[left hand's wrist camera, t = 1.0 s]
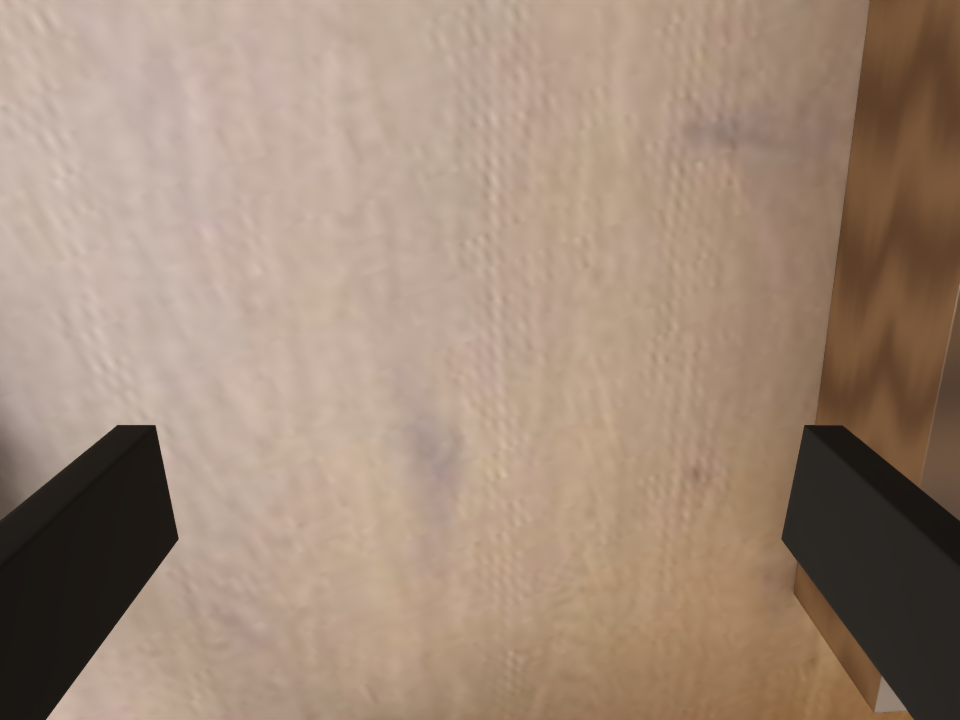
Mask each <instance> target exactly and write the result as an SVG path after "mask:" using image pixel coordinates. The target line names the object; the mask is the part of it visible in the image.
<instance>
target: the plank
mask: <svg viewBox="0 0 960 720" xmlns="http://www.w3.org/2000/svg"><path fill="white" fill-rule="evenodd" d="M816 425H843V426H844V427H845V428H847V429H848V430H849V431H850V432H851V433H853V434H854V435H855V436H856V437H858V438H859V439H860V440H861V441H862V442H864V443H865V444H866V445H867V446H869V447H870V448H871V449H872V450H873V451H875V452H876V453H877V454H878V455H880V456H881V457H882V458H883V459H884V460H886V461H887V462H888V463H889V464H891V465H892V466H893V467H894V468H896V469H897V470H898V471H899V472H900V473H902V474H903V475H904V476H905V477H907V478H908V479H909V480H910V481H911V482H913V483H914V484H915V485H916V486H918V487H919V488H920V489H921V490H922V491H924V492H925V493H926V494H927V495H929V496H930V497H931V498H932V499H933V500H935V501H936V502H937V503H938V504H940V505H941V506H942V507H943V508H945V509H946V510H947V511H948V512H949V513H951V514H952V515H953V516H954V517H956V518H957V519H958V520H959V521H960V0H870V6H869V13H868V21H867V29H866V37H865V44H864V52H863V60H862V68H861V75H860V83H859V91H858V99H857V107H856V114H855V122H854V130H853V138H852V145H851V153H850V161H849V169H848V176H847V184H846V192H845V200H844V207H843V215H842V223H841V231H840V238H839V246H838V254H837V262H836V270H835V277H834V285H833V293H832V301H831V308H830V316H829V324H828V332H827V339H826V347H825V355H824V363H823V370H822V378H821V386H820V394H819V401H818V409H817V417H816ZM794 595H795V596H796V598H797V599H798V601H799V602H800V604H801V605H802V607H803V608H804V610H805V611H806V613H807V614H808V616H809V617H810V619H811V620H812V622H813V623H814V625H815V626H816V627H817V629H818V630H819V632H820V633H821V635H822V636H823V638H824V639H825V641H826V642H827V644H828V645H829V647H830V648H831V650H832V651H833V653H834V654H835V656H836V657H837V659H838V660H839V662H840V663H841V665H842V666H843V668H844V669H845V671H846V672H847V674H848V675H849V677H850V678H851V680H852V681H853V683H854V684H855V686H856V687H857V689H858V690H859V692H860V693H861V695H862V696H863V698H864V699H865V701H866V702H867V704H868V705H869V707H870V708H871V710H872V711H873V712H874V713H879V712H898V711H907V709H906V708H905V707H904V705H903V704H902V703H901V701H900V700H899V698H898V697H897V696H896V694H895V693H894V692H893V690H892V689H891V688H890V686H889V685H888V683H887V682H886V681H885V679H884V678H883V677H882V675H881V674H880V673H879V671H878V670H877V669H876V667H875V666H874V664H873V663H872V662H871V660H870V659H869V658H868V656H867V655H866V654H865V652H864V651H863V649H862V648H861V647H860V645H859V644H858V643H857V641H856V640H855V639H854V637H853V636H852V635H851V633H850V632H849V630H848V629H847V628H846V626H845V625H844V624H843V622H842V621H841V620H840V618H839V617H838V615H837V614H836V613H835V611H834V610H833V609H832V607H831V606H830V605H829V603H828V602H827V601H826V599H825V598H824V596H823V595H822V594H821V592H820V591H819V590H818V588H817V587H816V586H815V584H814V583H813V581H812V580H811V579H810V577H809V576H808V575H807V573H806V572H805V571H804V569H803V568H802V567H801V565H800V564H799V562H798V564H797V572H796V580H795V588H794Z"/></svg>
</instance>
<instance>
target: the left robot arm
mask: <svg viewBox="0 0 960 720" xmlns="http://www.w3.org/2000/svg"><path fill="white" fill-rule="evenodd" d="M177 541H178V534H177V529H176V524H175V519H174V514H173V509H172V504H171V499H170V494H169V490H168V485H167V480H166V475H165V470H164V465H163V460H162V455H161V450H160V445H159V440H158V435H157V431H156V426H155V425H117V426H116V427H115V428H113V429H112V430H111V431H110V432H109V433H107V434H106V435H105V436H104V437H102V438H101V439H100V440H99V441H98V442H96V443H95V444H94V445H93V446H91V447H90V448H89V449H88V450H87V451H85V452H84V453H83V454H82V455H80V456H79V457H78V458H77V459H76V460H74V461H73V462H72V463H71V464H69V465H68V466H67V467H66V468H64V469H63V470H62V471H61V472H60V473H58V474H57V475H56V476H55V477H53V478H52V479H51V480H50V481H49V482H47V483H46V484H45V485H44V486H42V487H41V488H40V489H39V490H38V491H36V492H35V493H34V494H33V495H31V496H30V497H29V498H28V499H27V500H25V501H24V502H23V503H22V504H20V505H19V506H18V507H17V508H15V509H14V510H13V511H12V512H11V513H9V514H8V515H7V516H6V517H4V518H3V519H2V520H1V521H0V720H46V719H47V718H48V716H49V715H50V713H51V712H52V711H53V709H54V708H55V707H56V705H57V704H58V703H59V701H60V700H61V698H62V697H63V696H64V694H65V693H66V692H67V690H68V689H69V688H70V686H71V685H72V683H73V682H74V681H75V679H76V678H77V677H78V675H79V674H80V673H81V671H82V670H83V669H84V667H85V666H86V664H87V663H88V662H89V660H90V659H91V658H92V656H93V655H94V654H95V652H96V651H97V649H98V648H99V647H100V645H101V644H102V643H103V641H104V640H105V639H106V637H107V636H108V635H109V633H110V632H111V630H112V629H113V628H114V626H115V625H116V624H117V622H118V621H119V620H120V618H121V617H122V615H123V614H124V613H125V611H126V610H127V609H128V607H129V606H130V605H131V603H132V602H133V601H134V599H135V598H136V596H137V595H138V594H139V592H140V591H141V590H142V588H143V587H144V586H145V584H146V583H147V581H148V580H149V579H150V577H151V576H152V575H153V573H154V572H155V571H156V569H157V568H158V567H159V565H160V564H161V562H162V561H163V560H164V558H165V557H166V556H167V554H168V553H169V552H170V550H171V549H172V547H173V546H174V545H175V543H176V542H177ZM782 541H783V542H784V543H785V545H786V546H787V547H788V549H789V550H790V552H791V553H792V554H793V556H794V557H795V558H796V560H797V561H798V562H799V564H800V565H801V567H802V568H803V569H804V571H805V572H806V573H807V575H808V576H809V577H810V579H811V580H812V581H813V583H814V584H815V586H816V587H817V588H818V590H819V591H820V592H821V594H822V595H823V596H824V598H825V599H826V601H827V602H828V603H829V605H830V606H831V607H832V609H833V610H834V611H835V613H836V614H837V615H838V617H839V618H840V620H841V621H842V622H843V624H844V625H845V626H846V628H847V629H848V630H849V632H850V633H851V635H852V636H853V637H854V639H855V640H856V641H857V643H858V644H859V645H860V647H861V648H862V649H863V651H864V652H865V654H866V655H867V656H868V658H869V659H870V660H871V662H872V663H873V664H874V666H875V667H876V669H877V670H878V671H879V673H880V674H881V675H882V677H883V678H884V679H885V681H886V682H887V683H888V685H889V686H890V688H891V689H892V690H893V692H894V693H895V694H896V696H897V697H898V698H899V700H900V701H901V703H902V704H903V705H904V707H905V708H906V709H907V711H908V712H909V713H910V715H911V716H912V718H913V719H914V720H960V521H959V520H958V519H957V518H956V517H954V516H953V515H952V514H951V513H949V512H948V511H947V510H946V509H945V508H943V507H942V506H941V505H940V504H938V503H937V502H936V501H935V500H933V499H932V498H931V497H930V496H929V495H927V494H926V493H925V492H924V491H922V490H921V489H920V488H919V487H918V486H916V485H915V484H914V483H913V482H911V481H910V480H909V479H908V478H907V477H905V476H904V475H903V474H902V473H900V472H899V471H898V470H897V469H896V468H894V467H893V466H892V465H891V464H889V463H888V462H887V461H886V460H884V459H883V458H882V457H881V456H880V455H878V454H877V453H876V452H875V451H873V450H872V449H871V448H870V447H869V446H867V445H866V444H865V443H864V442H862V441H861V440H860V439H859V438H858V437H856V436H855V435H854V434H853V433H851V432H850V431H849V430H848V429H847V428H845V427H844V426H843V425H805V426H804V431H803V436H802V440H801V445H800V450H799V455H798V460H797V465H796V470H795V475H794V480H793V485H792V490H791V494H790V499H789V504H788V509H787V514H786V519H785V524H784V529H783V534H782Z"/></svg>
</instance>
